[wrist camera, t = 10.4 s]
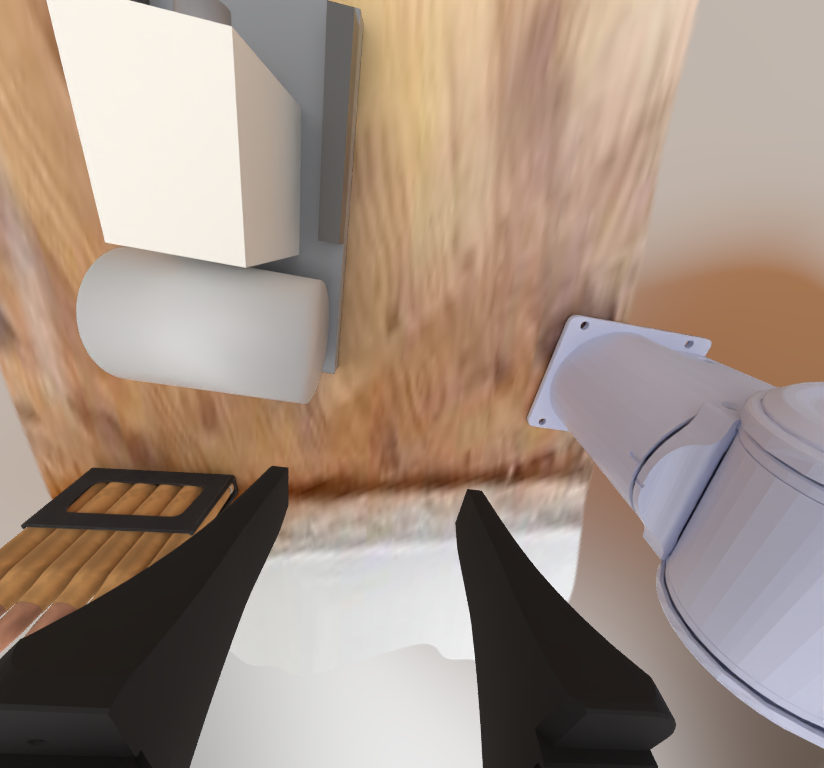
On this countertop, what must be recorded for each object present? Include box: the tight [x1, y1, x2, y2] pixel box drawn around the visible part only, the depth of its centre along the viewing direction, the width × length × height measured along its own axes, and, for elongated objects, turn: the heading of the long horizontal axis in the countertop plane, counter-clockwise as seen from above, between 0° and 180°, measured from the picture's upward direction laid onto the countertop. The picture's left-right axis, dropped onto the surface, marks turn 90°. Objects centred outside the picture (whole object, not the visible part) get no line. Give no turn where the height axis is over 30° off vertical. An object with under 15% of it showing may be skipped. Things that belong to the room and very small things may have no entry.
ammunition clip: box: [0, 468, 238, 652], centre depth 19 cm, size 11×2×12 cm, turn 85°
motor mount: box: [76, 0, 364, 404], centre depth 13 cm, size 9×16×7 cm, turn 170°
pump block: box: [47, 0, 301, 268], centre depth 11 cm, size 4×7×6 cm, turn 170°
